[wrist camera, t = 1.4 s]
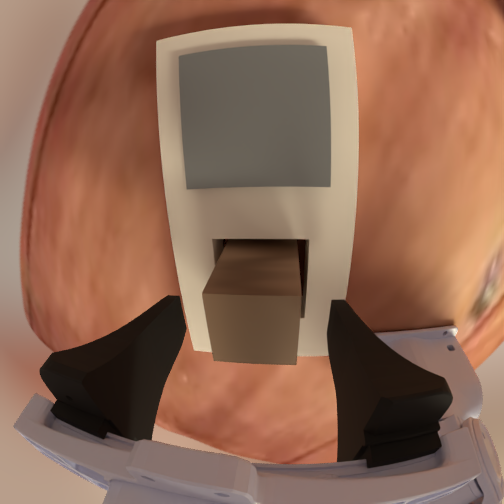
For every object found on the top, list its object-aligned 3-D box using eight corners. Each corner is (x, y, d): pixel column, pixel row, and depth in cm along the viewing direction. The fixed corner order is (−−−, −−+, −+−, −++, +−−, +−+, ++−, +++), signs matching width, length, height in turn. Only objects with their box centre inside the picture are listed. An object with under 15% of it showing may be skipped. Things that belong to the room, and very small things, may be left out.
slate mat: (324, 49, 10) (326, 46, 10) (328, 185, 13) (330, 187, 12) (182, 58, 11) (178, 55, 10) (190, 187, 14) (186, 189, 13)
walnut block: (296, 232, 17) (301, 295, 11) (294, 288, 19) (296, 364, 12) (232, 232, 17) (201, 293, 11) (236, 287, 19) (213, 360, 13)
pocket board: (342, 41, 12) (351, 27, 9) (331, 332, 20) (335, 355, 18) (173, 51, 13) (156, 40, 10) (202, 328, 21) (194, 350, 19)
